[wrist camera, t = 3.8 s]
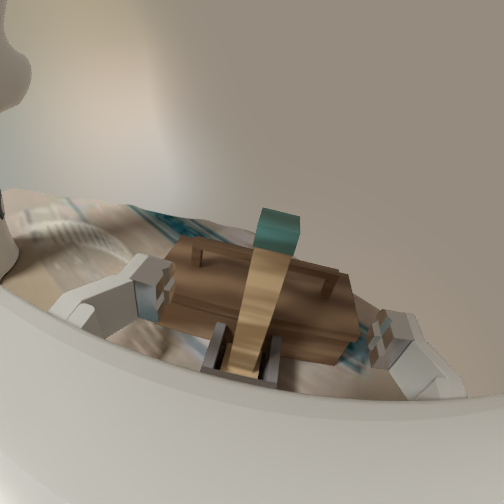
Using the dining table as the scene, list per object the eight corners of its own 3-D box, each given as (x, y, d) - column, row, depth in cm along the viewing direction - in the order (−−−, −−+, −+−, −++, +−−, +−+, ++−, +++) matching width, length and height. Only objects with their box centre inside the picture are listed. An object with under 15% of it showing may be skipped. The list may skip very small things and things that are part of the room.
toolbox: (339, 415, 28) (387, 365, 22) (127, 366, 29) (110, 300, 23) (332, 308, 46) (357, 253, 40) (180, 272, 47) (184, 212, 41)
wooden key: (254, 387, 31) (308, 239, 20) (218, 378, 31) (247, 225, 20) (259, 359, 35) (306, 215, 24) (225, 351, 35) (256, 203, 24)
